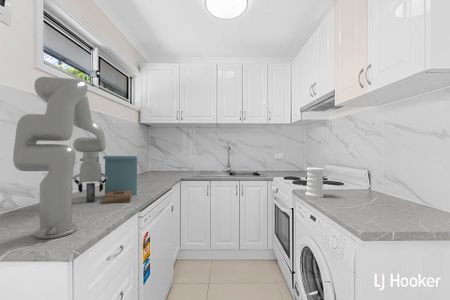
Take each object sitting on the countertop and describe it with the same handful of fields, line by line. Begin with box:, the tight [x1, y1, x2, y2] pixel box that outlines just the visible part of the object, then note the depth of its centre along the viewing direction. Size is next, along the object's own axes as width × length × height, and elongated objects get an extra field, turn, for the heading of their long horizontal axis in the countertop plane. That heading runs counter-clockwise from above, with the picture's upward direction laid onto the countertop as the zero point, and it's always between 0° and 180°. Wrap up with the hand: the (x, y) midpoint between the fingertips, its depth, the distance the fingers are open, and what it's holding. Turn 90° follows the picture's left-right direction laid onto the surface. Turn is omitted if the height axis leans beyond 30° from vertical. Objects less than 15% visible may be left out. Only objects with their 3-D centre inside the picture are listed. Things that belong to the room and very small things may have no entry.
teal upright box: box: [102, 155, 138, 196], centre depth 142 cm, size 8×18×24 cm, turn 108°
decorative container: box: [304, 167, 325, 198], centre depth 156 cm, size 12×12×18 cm
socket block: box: [103, 190, 133, 205], centre depth 133 cm, size 13×13×4 cm
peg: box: [85, 182, 96, 203], centre depth 128 cm, size 4×4×10 cm
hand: (90, 191), depth 129 cm, fingers open, 9 cm apart
